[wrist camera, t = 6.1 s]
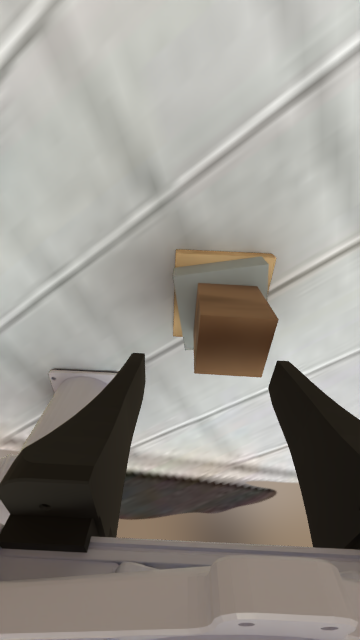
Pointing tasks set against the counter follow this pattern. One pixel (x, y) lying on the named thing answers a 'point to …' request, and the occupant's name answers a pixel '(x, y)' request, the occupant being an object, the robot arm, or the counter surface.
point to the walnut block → (232, 330)
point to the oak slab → (210, 257)
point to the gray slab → (214, 273)
